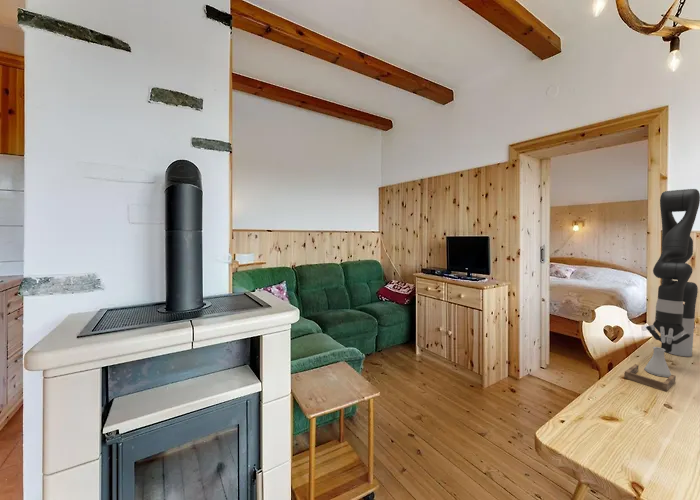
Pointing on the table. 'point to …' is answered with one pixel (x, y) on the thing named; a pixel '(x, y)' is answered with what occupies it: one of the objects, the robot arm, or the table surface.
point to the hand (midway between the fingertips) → (666, 352)
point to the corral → (648, 379)
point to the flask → (658, 363)
